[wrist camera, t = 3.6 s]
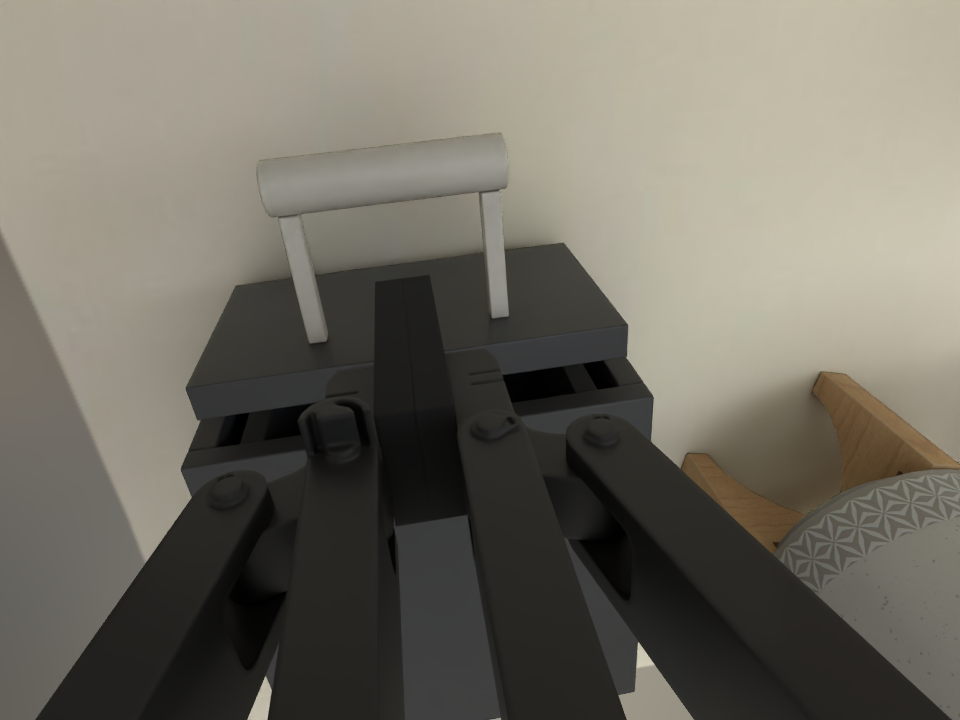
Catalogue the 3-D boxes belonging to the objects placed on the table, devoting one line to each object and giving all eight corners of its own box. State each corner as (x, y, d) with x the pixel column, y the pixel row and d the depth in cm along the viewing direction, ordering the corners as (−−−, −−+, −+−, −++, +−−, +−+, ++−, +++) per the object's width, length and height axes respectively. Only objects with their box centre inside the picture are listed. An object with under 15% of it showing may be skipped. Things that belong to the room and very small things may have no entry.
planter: (833, 553, 41) (1108, 884, 25) (648, 549, 38) (831, 917, 23) (934, 381, 35) (1375, 681, 19) (723, 362, 32) (1041, 691, 17)
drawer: (190, 136, 23) (110, 193, 16) (561, 94, 24) (636, 132, 17) (313, 543, 33) (297, 685, 26) (568, 501, 34) (617, 627, 27)
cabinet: (239, 325, 27) (178, 469, 19) (572, 279, 29) (654, 396, 20) (317, 576, 35) (298, 757, 27) (575, 532, 37) (635, 692, 28)
